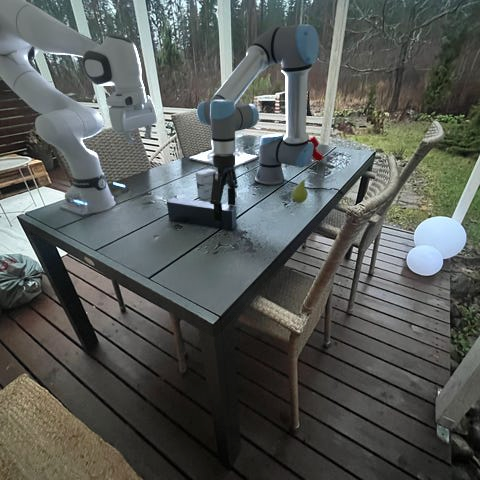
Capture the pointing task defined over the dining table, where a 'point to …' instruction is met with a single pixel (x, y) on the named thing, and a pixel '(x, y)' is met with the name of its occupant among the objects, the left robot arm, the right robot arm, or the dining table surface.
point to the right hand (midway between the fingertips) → (225, 212)
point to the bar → (200, 214)
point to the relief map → (239, 154)
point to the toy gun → (316, 153)
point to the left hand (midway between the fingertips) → (140, 141)
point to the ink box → (204, 183)
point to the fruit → (300, 192)
